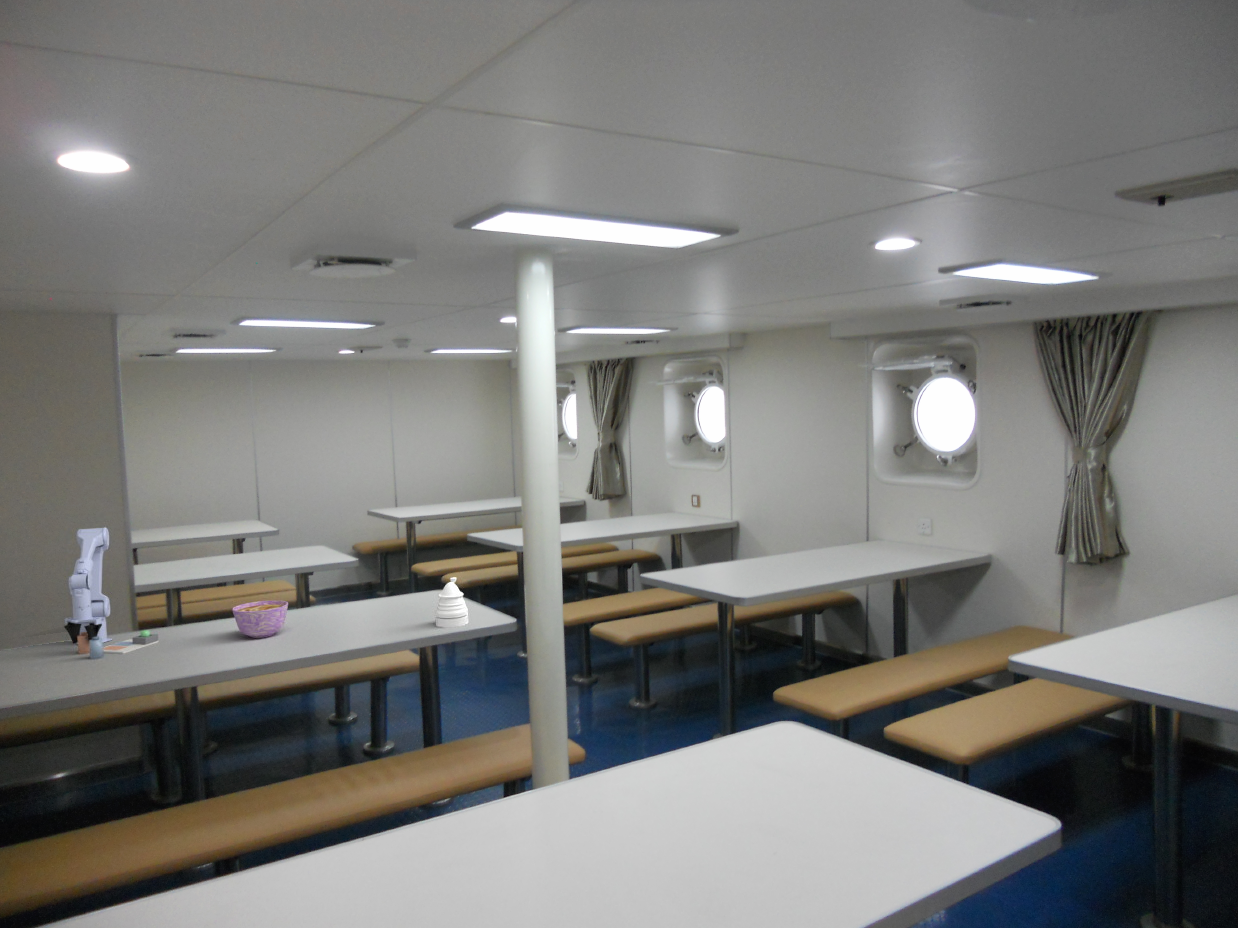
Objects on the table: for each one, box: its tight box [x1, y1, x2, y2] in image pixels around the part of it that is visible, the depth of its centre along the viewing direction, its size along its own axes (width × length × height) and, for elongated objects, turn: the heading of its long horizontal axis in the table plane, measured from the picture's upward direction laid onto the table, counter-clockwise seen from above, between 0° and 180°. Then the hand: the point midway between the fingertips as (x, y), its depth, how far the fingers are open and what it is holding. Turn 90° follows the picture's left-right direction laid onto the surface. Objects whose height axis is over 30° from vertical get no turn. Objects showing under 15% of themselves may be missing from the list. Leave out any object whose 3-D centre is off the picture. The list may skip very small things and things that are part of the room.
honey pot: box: [434, 576, 469, 629], centre depth 330 cm, size 13×13×18 cm
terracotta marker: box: [77, 632, 90, 655], centre depth 304 cm, size 4×4×8 cm
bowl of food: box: [232, 600, 289, 639], centre depth 321 cm, size 20×20×12 cm
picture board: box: [103, 633, 160, 654], centre depth 310 cm, size 14×16×3 cm
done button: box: [140, 629, 151, 637], centre depth 314 cm, size 3×3×3 cm
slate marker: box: [89, 636, 105, 660], centre depth 296 cm, size 4×4×8 cm
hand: (84, 643), depth 304 cm, fingers open, 7 cm apart
